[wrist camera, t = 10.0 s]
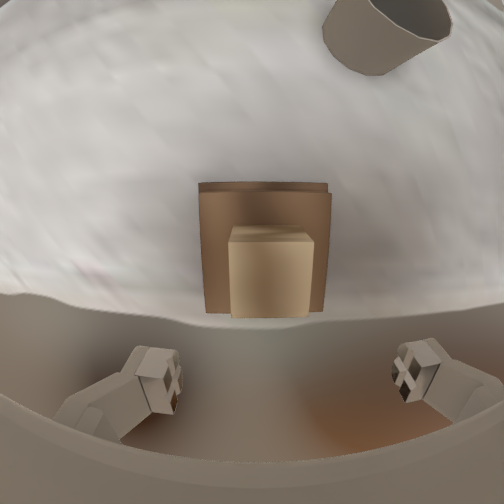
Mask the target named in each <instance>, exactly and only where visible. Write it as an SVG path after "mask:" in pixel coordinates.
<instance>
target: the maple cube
mask: <svg viewBox="0 0 504 504" xmlns="http://www.w3.org/2000/svg"><path fill="white" fill-rule="evenodd" d="M228 251H229V279H230V304H231V318H283V317H308V315H309V305H310V294H311V282H312V268H313V253H314V241H313V240H312V239H311V238H310V237H309V235H308V234H307V233H306V232H305V231H304V229H303V228H302V227H301V226H300V225H233V228H232V232H231V235H230V238H229V242H228Z"/></svg>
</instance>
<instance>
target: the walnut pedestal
mask: <svg viewBox="0 0 504 504" xmlns="http://www.w3.org/2000/svg"><path fill="white" fill-rule="evenodd" d="M198 186H199V217H200V238H201V255H202V270H203V284H204V296H205V308H206V313H231V304H230V279H229V251H228V242H229V238H230V235H231V232H232V228H233V225H300V226H301V227H302V228H303V229H304V231H305V232H306V233H307V234H308V235H309V237H310V238H311V239H312V240H313V241H314V253H313V268H312V282H311V294H310V305H309V312H322V311H323V304H324V295H325V285H326V275H327V264H328V252H329V238H330V222H331V200H332V193H329V192H328V184H327V183H309V182H211V183H198Z"/></svg>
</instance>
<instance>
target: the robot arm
mask: <svg viewBox="0 0 504 504" xmlns="http://www.w3.org/2000/svg"><path fill="white" fill-rule="evenodd" d="M397 354H398V357H397V359H395V360H394V362H393V365H392V368H391V369H392V370H391V371H392V372H391V375H392V379H393V381H394V383H395V384H396V385H398V386H399V387H400V389H399V393H400V395H401V396H402V398H403V400H404V402H405V403H407V402H412V401H416V400H420V399H423V401H425V402H426V403H427V404H429V405H430V406H432V407H433V408H434V409H436V410H437V411H438V412H440V413H441V414H443V415H444V416H445V417H447V418H448V419H449V420H451V421H452V422H454V423H453V424H452V425H451V426H448V427H446V428H443V429H441V430H438V431H436V432H433V433H430V434H427V435H425V436H421V437H418V438H415V439H412V440H409V441H405V442H402V443H398V444H395V445H391V446H387V447H383V448H379V449H375V450H370V451H366V452H361V453H356V454H350V455H344V456H338V457H332V458H324V459H315V460H305V461H291V462H265V463H263V462H262V463H261V462H257V463H255V462H226V461H212V460H202V459H193V458H185V457H178V456H172V455H166V454H161V453H155V452H151V451H146V450H141V449H137V448H133V447H129V446H125V445H122V443H121V441H120V440H119V439H120V438H122V437H123V436H124V435H125V434H127V433H128V432H129V431H130V430H131V429H133V428H134V427H135V426H136V425H137V424H139V423H140V422H141V421H142V420H143V419H145V418H146V417H147V416H148V415H149V414H151V412H157V413H165V414H174V412H175V409H176V406H177V403H178V400H177V396H176V395H178V394H179V393H180V392H181V389H182V384H183V373H182V368H181V367H180V366H179V365H178V362H179V359H180V358H179V354H178V351H176V350H170V349H162V348H153V347H144V346H137V347H135V349H134V350H133V352H132V354H131V356H130V357H129V359H128V360H127V362H126V364H125V366H124V367H123V369H122V371H121V372H120V373H115V374H113V375H111V376H109V377H107V378H105V379H103V380H101V381H99V382H97V383H95V384H93V385H91V386H89V387H87V388H86V389H84V390H82V391H80V392H78V393H76V394H74V395H72V396H70V397H68V398H67V399H66V400H65V402H64V403H63V405H62V406H61V408H60V409H59V411H58V413H57V414H56V415H55V417H54V418H53V420H51V419H48V418H46V417H44V416H42V415H40V414H38V413H35V412H33V411H31V410H29V409H27V408H26V407H24V406H22V405H20V404H18V403H16V402H14V401H13V400H11V399H9V398H7V397H6V396H4V395H2V394H1V393H0V504H504V386H503V384H502V383H501V382H500V381H499V379H498V378H496V377H494V376H491V375H489V374H487V373H484V372H482V371H480V370H478V369H475V368H473V367H471V366H469V365H466V364H464V363H462V362H460V361H457V360H452V359H451V357H450V356H449V355H448V354H447V353H446V352H445V350H444V349H443V348H442V347H441V346H440V344H439V343H438V342H437V341H436V340H435V339H434V338H429V339H424V340H420V341H414V342H408V343H402V344H400V346H399V347H398V350H397Z"/></svg>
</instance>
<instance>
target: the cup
mask: <svg viewBox="0 0 504 504" xmlns="http://www.w3.org/2000/svg"><path fill="white" fill-rule="evenodd" d="M452 26H453V23H452V19H451V16H450V13H449V11H448V8H447V6H446V5H445V3H444V2H443V0H337V1H336V3H335V5H334V7H333V8H332V10H331V12H330V14H329V15H328V17H327V19H326V21H325V23H324V25H323V26H322V28H323V38H324V42H325V44H326V45H327V47H328V48H329V50H330V52H331V53H332V55H333V56H334V57H335V58H336V59H337V60H339V61H340V62H341V63H342V64H344V65H345V66H346V67H347V68H349V69H351V70H354V71H356V72H359V73H361V74H364V75H384V74H385V73H387V72H389V71H391V70H392V69H394V68H396V67H397V66H399V65H401V64H402V63H404V62H406V61H407V60H409V59H411V58H412V57H414V56H416V55H418V54H419V53H421V52H423V51H425V50H426V49H428V48H430V47H432V46H434V45H435V44H437V43H439V42H441V41H443V40H445V39H447V38H449V37H450V36H451V31H452Z"/></svg>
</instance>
